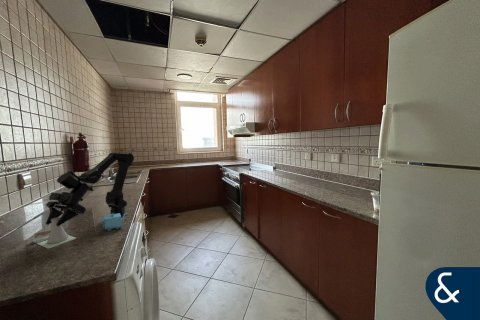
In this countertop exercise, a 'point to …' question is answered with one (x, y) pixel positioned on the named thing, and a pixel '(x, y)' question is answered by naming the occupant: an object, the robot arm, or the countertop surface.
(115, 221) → the teapot
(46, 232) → the rod
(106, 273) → the countertop surface
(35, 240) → the cradle
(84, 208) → the robot arm
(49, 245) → the pad
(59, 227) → the flask
